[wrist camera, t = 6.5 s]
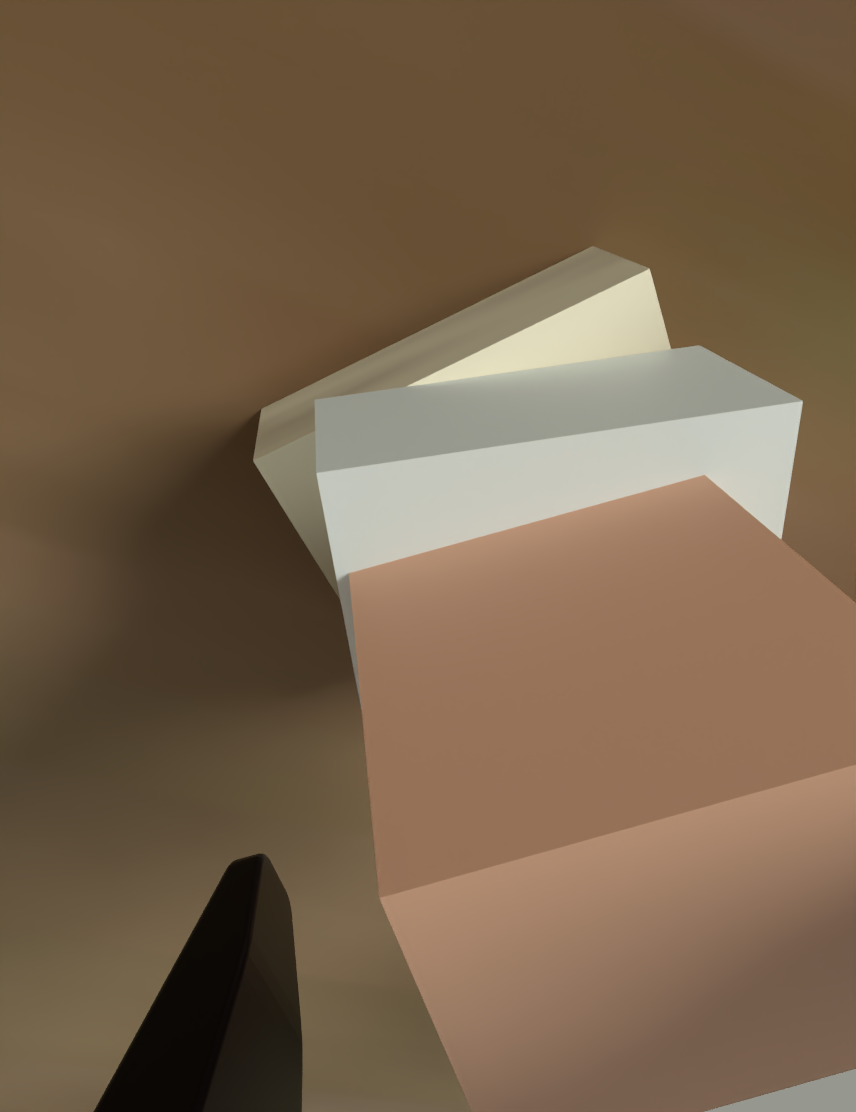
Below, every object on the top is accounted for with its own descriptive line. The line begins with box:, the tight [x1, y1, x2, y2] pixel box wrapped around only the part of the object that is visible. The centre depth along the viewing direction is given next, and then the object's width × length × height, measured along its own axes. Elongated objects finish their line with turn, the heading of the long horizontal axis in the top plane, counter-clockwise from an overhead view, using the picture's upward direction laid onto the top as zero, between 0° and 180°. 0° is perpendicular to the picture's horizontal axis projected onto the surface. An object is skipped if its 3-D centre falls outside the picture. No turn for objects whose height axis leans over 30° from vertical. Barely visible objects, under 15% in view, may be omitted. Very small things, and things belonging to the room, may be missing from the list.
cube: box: [349, 475, 856, 1112], centre depth 9 cm, size 5×5×5 cm
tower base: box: [253, 246, 671, 599], centre depth 15 cm, size 7×7×3 cm
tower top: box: [315, 345, 803, 711], centre depth 12 cm, size 6×6×3 cm
